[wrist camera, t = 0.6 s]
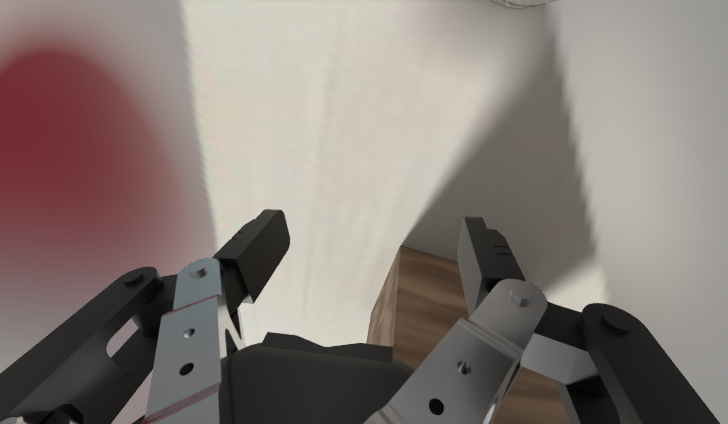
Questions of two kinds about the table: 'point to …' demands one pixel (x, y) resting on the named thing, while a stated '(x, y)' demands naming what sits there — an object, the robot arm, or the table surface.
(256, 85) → the table surface
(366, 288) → the table surface
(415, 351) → the rack
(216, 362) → the robot arm
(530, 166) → the table surface
